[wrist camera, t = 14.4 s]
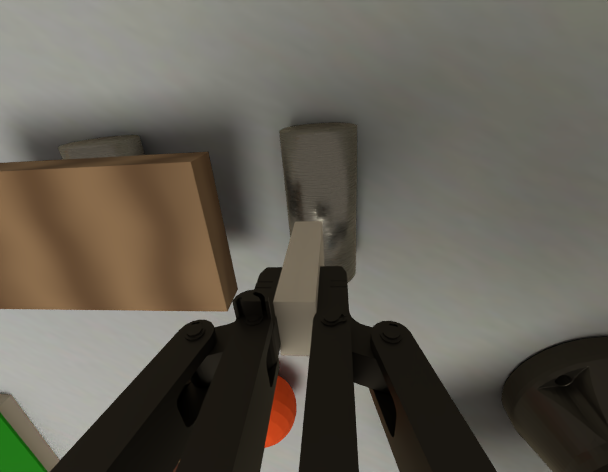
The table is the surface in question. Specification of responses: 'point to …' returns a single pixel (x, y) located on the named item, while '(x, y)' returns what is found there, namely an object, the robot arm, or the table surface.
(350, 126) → the cylinder
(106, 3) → the table surface
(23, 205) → the slab
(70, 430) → the table surface
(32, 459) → the book
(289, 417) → the clementine
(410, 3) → the table surface
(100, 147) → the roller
